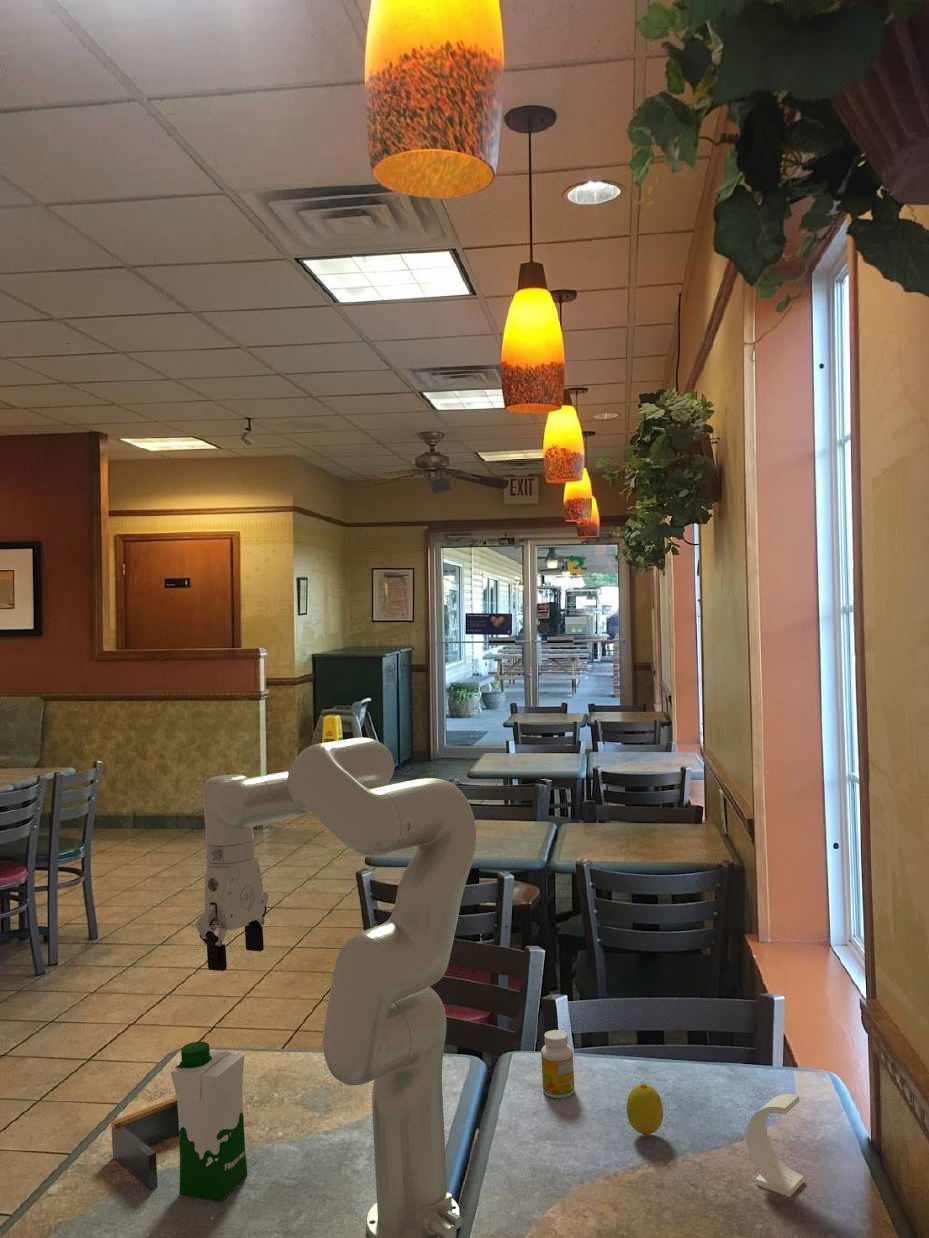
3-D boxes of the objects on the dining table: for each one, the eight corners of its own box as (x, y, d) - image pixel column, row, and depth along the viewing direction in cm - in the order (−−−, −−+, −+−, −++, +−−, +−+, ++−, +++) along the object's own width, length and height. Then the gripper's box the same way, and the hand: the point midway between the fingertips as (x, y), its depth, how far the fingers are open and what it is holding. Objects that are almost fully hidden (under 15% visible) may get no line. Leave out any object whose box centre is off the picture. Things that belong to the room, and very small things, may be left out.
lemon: (623, 1141, 151) (620, 1088, 151) (634, 1124, 156) (631, 1073, 156) (658, 1148, 149) (655, 1094, 149) (668, 1131, 154) (666, 1079, 154)
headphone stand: (790, 1197, 134) (784, 1108, 135) (748, 1182, 139) (743, 1096, 139) (804, 1181, 138) (799, 1095, 138) (763, 1167, 142) (758, 1083, 142)
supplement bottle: (537, 1089, 170) (534, 1032, 170) (564, 1081, 172) (561, 1025, 172) (553, 1101, 165) (550, 1043, 165) (580, 1094, 167) (577, 1036, 167)
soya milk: (205, 1165, 150) (198, 1033, 151) (257, 1173, 148) (250, 1038, 148) (170, 1197, 142) (163, 1058, 142) (224, 1206, 139) (217, 1063, 140)
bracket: (237, 1151, 154) (236, 1115, 154) (149, 1190, 144) (147, 1151, 145) (197, 1123, 164) (196, 1089, 164) (112, 1157, 154) (111, 1121, 154)
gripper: (215, 866, 150) (221, 980, 149) (281, 842, 165) (286, 944, 165) (176, 864, 153) (182, 976, 152) (244, 841, 168) (249, 941, 168)
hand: (236, 959), depth 159 cm, fingers open, 9 cm apart
